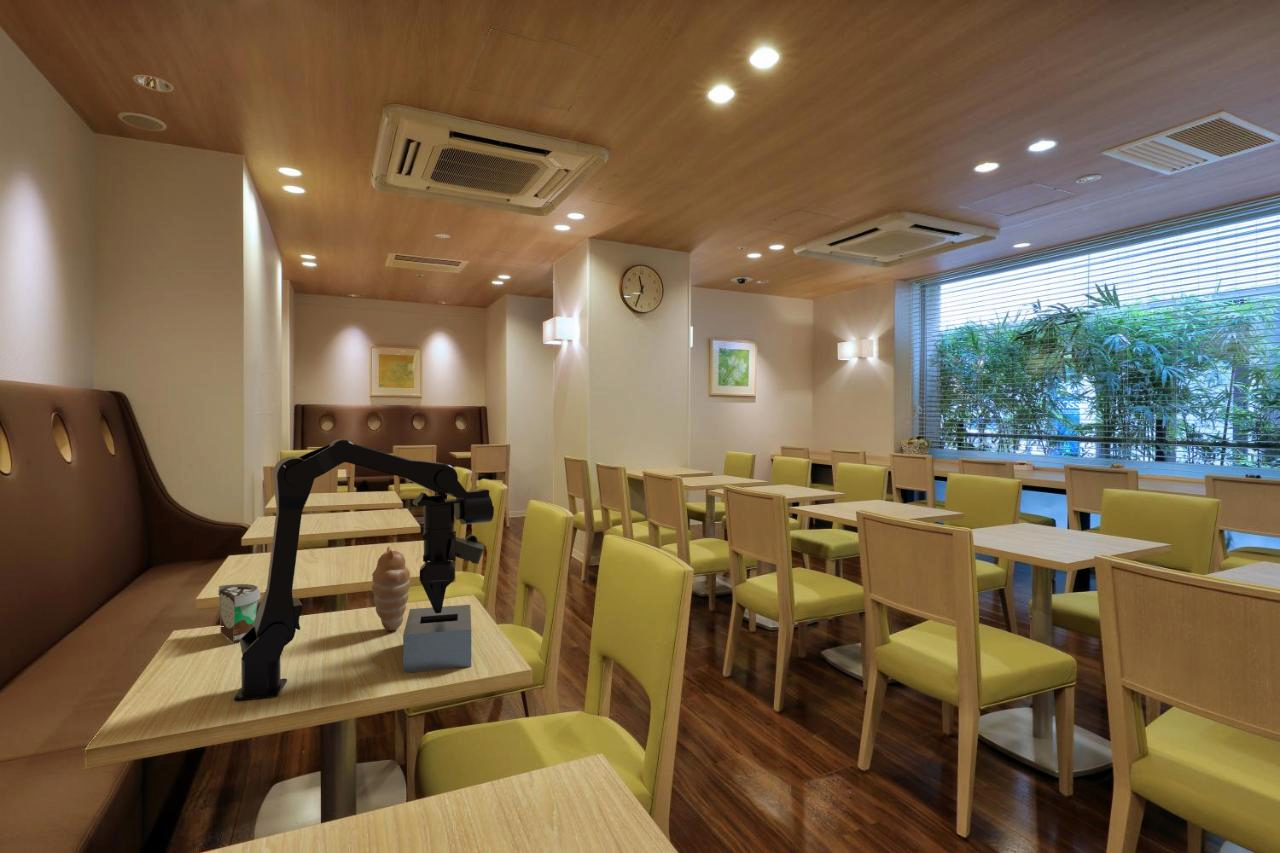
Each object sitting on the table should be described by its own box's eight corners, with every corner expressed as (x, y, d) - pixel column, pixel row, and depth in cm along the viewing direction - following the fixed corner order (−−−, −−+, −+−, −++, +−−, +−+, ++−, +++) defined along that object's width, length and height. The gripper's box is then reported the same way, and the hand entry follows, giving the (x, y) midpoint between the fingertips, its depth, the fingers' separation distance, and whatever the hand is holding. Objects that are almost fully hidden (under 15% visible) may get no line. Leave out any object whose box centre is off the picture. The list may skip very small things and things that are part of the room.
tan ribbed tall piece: (370, 627, 141) (370, 546, 141) (407, 621, 145) (407, 542, 145) (373, 639, 133) (373, 553, 133) (413, 633, 137) (413, 550, 137)
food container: (269, 638, 134) (269, 590, 134) (235, 646, 130) (235, 597, 129) (250, 624, 142) (250, 580, 142) (218, 631, 138) (218, 585, 138)
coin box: (471, 666, 120) (471, 629, 119) (403, 673, 116) (403, 634, 116) (470, 637, 135) (470, 604, 135) (410, 642, 132) (410, 609, 132)
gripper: (482, 533, 118) (482, 617, 119) (480, 517, 136) (480, 590, 137) (419, 536, 115) (419, 622, 116) (425, 519, 133) (425, 594, 134)
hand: (439, 606), depth 125 cm, fingers open, 9 cm apart
